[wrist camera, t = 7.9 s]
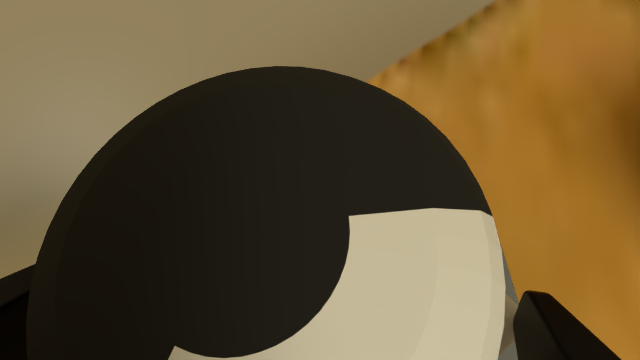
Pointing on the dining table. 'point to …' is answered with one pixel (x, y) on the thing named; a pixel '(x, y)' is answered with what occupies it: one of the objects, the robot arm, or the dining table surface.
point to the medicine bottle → (272, 233)
